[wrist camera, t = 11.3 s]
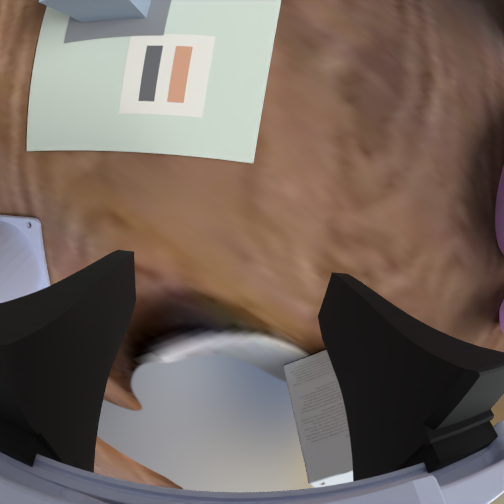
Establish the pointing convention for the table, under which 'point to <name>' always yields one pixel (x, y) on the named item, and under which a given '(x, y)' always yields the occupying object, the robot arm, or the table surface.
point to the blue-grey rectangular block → (100, 9)
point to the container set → (500, 231)
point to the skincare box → (320, 420)
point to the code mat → (154, 80)
